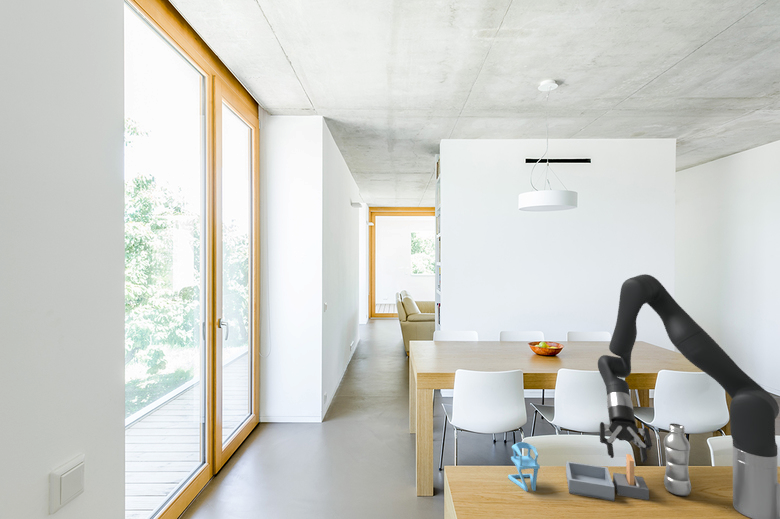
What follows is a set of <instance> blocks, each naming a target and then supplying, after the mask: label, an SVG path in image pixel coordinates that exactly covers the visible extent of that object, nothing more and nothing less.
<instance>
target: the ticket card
mask: <svg viewBox="0 0 780 519" xmlns="http://www.w3.org/2000/svg"><path fill="white" fill-rule="evenodd" d="M625 455H626V456H625V458H626V462H625V465H626V467H625V468H626V469H625V470H626V471H625V472H626V479H627V482H628V484H629V485H632V486H634V475H635V460H634V458H633V456H632V454H629V453H626V454H625Z"/></svg>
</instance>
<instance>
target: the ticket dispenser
mask: <svg viewBox="0 0 780 519" xmlns="http://www.w3.org/2000/svg"><path fill="white" fill-rule="evenodd" d="M612 482H613V485H614V490H615V491H616V494H617V496H622V497H628V498H632V499H633V498H635V499H640V500H643V501H644V500H646V501H649V500H650V489H649V487H648V486H647V483H646V481H645V480H644V477H643V476H639V475H635V474H634V486H632V485H629V484H628V482H627V479H626V474H625V473H618V472H613V473H612Z"/></svg>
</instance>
